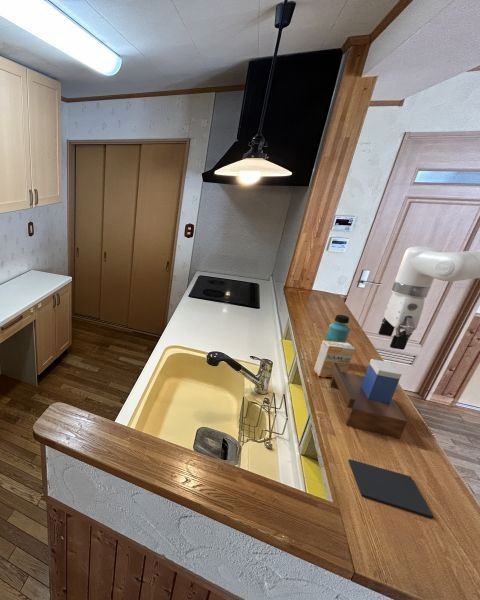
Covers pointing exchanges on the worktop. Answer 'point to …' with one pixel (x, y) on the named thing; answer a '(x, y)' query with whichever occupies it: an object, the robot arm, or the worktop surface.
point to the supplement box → (333, 357)
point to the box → (380, 380)
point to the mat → (389, 488)
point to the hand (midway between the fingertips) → (390, 341)
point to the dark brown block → (367, 406)
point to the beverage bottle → (338, 329)
